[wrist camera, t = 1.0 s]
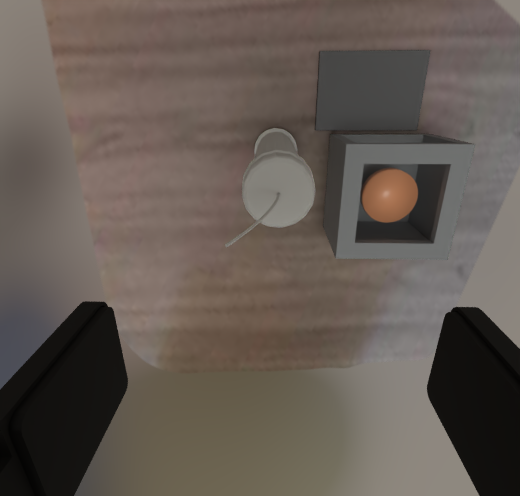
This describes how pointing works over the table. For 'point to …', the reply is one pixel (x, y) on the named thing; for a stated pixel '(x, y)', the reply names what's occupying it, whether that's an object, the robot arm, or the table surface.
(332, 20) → the table surface
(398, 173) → the button
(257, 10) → the table surface
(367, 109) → the mat
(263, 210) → the grey cylindrical piece
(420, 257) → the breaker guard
